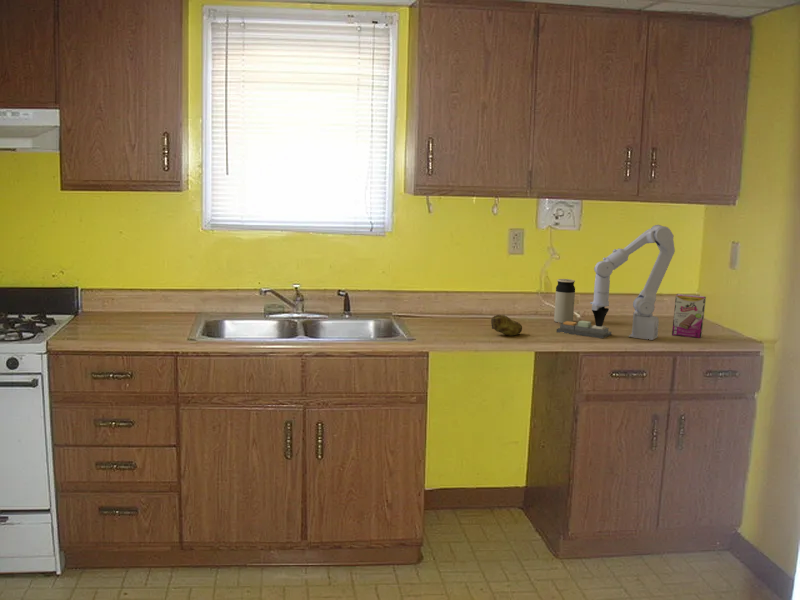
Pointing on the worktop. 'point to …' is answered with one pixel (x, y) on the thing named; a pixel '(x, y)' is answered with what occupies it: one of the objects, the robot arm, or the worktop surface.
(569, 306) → the travel mug
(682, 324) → the candy bar box
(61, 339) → the worktop surface
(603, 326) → the button cream
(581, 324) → the button sage
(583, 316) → the worktop surface
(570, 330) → the panel
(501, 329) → the potato
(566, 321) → the button orange
